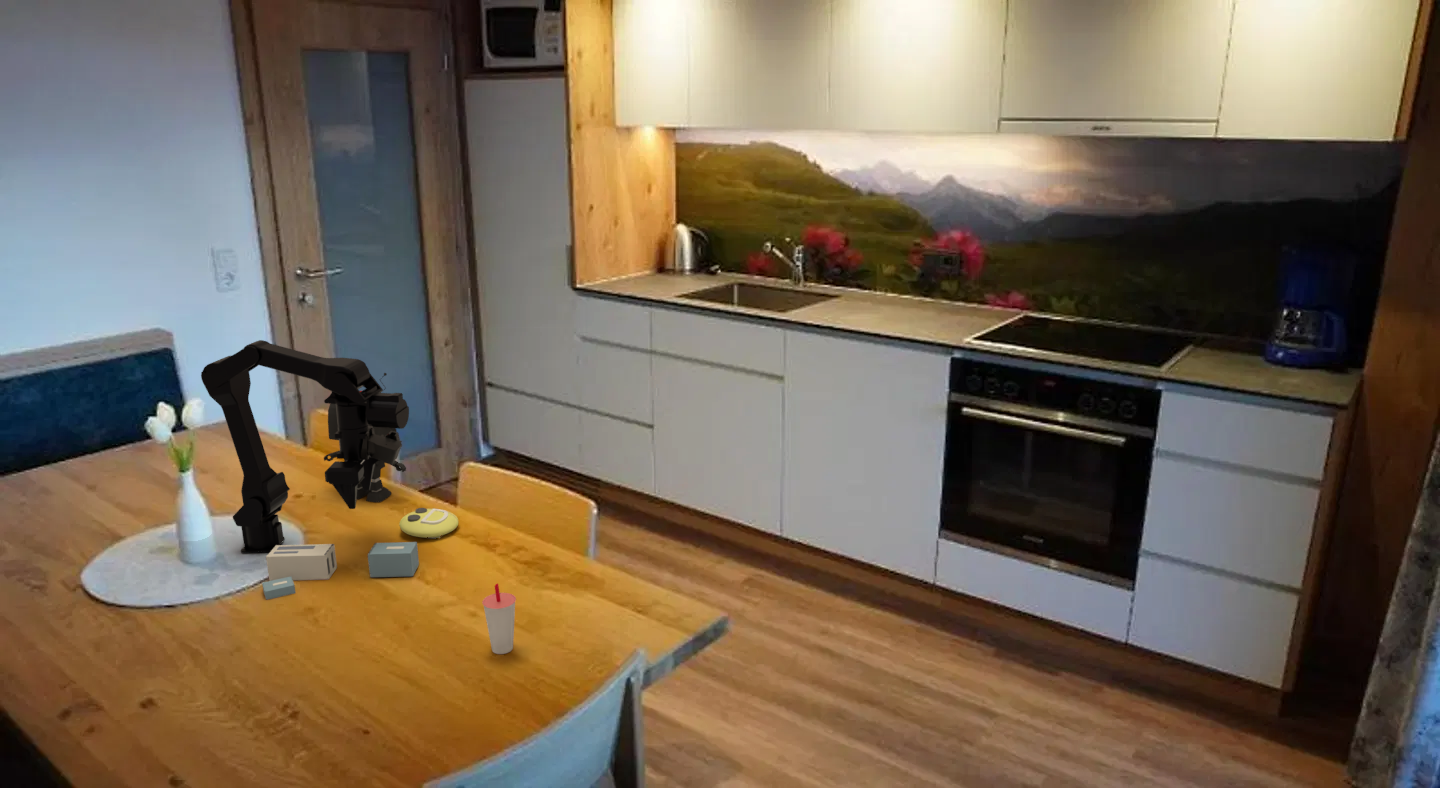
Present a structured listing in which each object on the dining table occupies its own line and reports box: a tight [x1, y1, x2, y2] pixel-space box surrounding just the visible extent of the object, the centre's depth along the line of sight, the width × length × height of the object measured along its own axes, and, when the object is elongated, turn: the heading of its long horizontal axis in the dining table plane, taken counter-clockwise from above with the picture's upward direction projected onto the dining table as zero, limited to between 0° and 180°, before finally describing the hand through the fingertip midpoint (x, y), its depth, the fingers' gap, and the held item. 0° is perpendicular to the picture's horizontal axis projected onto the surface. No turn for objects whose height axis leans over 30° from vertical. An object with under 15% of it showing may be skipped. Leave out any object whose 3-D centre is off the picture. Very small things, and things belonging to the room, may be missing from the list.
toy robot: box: [323, 372, 407, 503], centre depth 220 cm, size 22×9×30 cm, turn 71°
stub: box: [367, 541, 420, 578], centre depth 187 cm, size 8×5×5 cm, turn 93°
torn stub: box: [261, 576, 296, 600], centre depth 180 cm, size 5×4×2 cm
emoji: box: [399, 507, 459, 539], centre depth 205 cm, size 4×12×12 cm
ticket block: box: [265, 543, 338, 581], centre depth 186 cm, size 11×5×5 cm, turn 93°
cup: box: [482, 583, 517, 655], centre depth 159 cm, size 5×5×12 cm
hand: (359, 499), depth 193 cm, fingers open, 9 cm apart
